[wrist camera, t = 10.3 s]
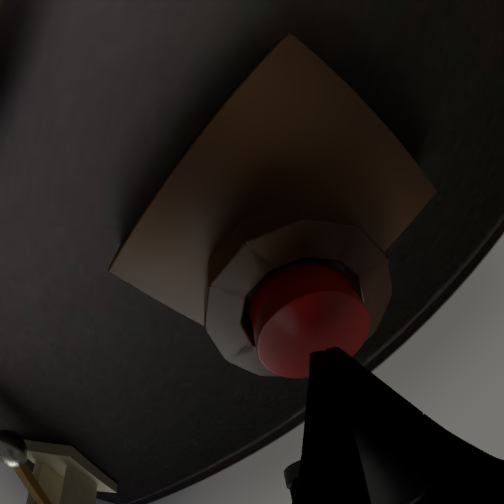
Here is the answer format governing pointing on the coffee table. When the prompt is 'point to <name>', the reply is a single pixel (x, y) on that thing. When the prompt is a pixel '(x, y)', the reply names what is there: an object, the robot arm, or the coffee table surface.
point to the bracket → (66, 474)
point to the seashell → (2, 6)
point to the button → (305, 316)
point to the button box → (275, 200)
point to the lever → (20, 463)
